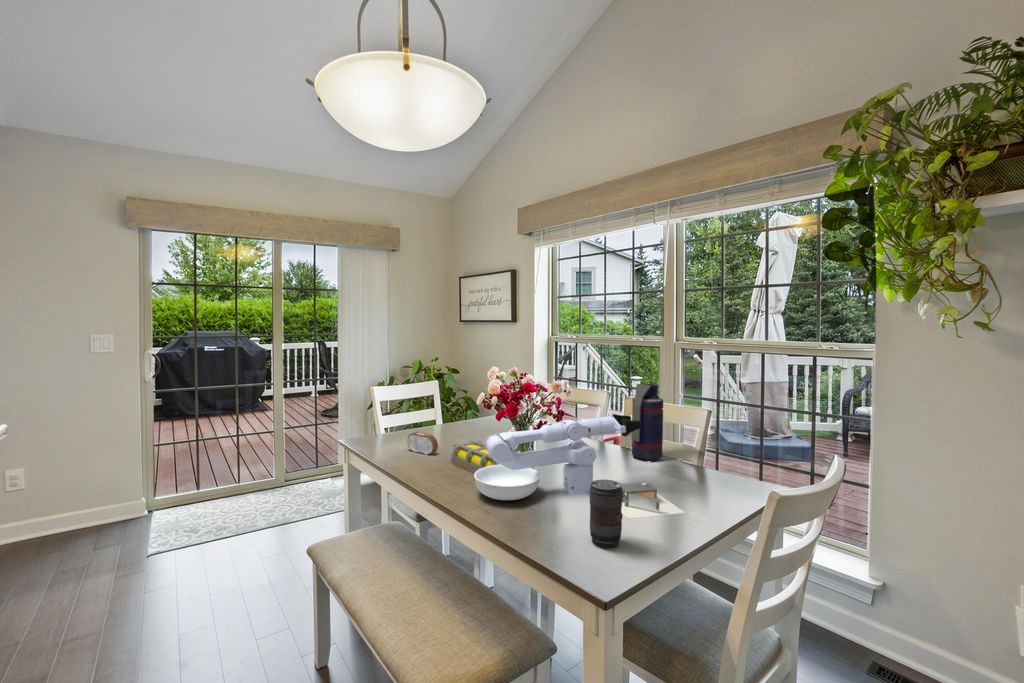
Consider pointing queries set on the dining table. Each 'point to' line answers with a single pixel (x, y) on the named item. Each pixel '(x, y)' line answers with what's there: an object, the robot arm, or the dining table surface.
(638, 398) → the grenade
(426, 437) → the tin
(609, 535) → the camera lens
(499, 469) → the serving bowl
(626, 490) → the grey and orange box
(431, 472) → the dining table surface
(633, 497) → the door
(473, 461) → the cage light
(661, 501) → the mat
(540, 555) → the dining table surface
